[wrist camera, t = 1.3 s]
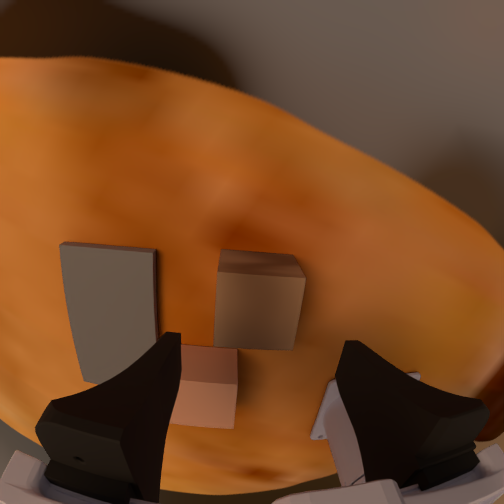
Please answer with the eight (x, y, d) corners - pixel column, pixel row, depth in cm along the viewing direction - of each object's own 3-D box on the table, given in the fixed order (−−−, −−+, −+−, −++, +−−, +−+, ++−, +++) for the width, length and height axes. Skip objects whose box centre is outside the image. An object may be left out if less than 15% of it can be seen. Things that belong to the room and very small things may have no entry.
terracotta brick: (237, 348, 22) (237, 384, 18) (233, 392, 23) (233, 428, 19) (174, 343, 21) (165, 378, 17) (177, 388, 22) (169, 423, 19)
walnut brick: (292, 254, 20) (306, 278, 16) (283, 317, 21) (292, 350, 17) (221, 249, 19) (217, 271, 15) (217, 313, 21) (213, 346, 17)
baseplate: (155, 249, 19) (152, 253, 18) (162, 389, 22) (161, 395, 22) (64, 241, 18) (59, 244, 18) (87, 375, 22) (83, 381, 21)
